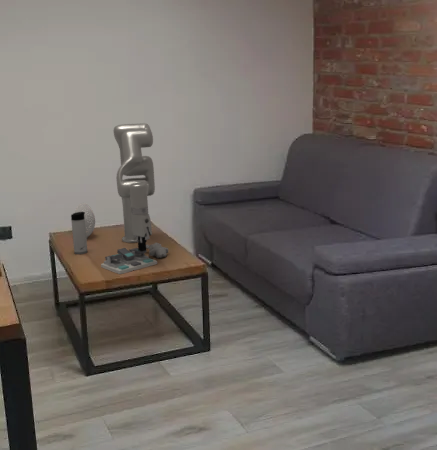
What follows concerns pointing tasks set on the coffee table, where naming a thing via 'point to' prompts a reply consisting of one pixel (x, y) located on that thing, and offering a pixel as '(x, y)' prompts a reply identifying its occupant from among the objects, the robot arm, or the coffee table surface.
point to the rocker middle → (126, 254)
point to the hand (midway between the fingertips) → (142, 250)
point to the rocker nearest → (137, 251)
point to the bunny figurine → (157, 250)
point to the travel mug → (79, 233)
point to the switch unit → (128, 263)
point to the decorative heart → (87, 217)
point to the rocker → (114, 256)
